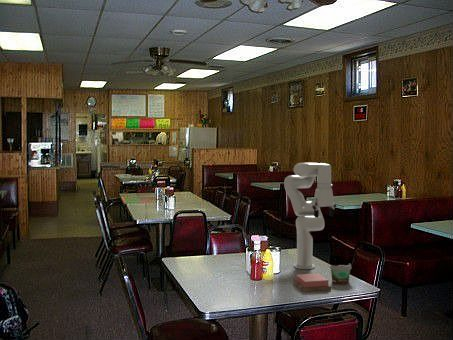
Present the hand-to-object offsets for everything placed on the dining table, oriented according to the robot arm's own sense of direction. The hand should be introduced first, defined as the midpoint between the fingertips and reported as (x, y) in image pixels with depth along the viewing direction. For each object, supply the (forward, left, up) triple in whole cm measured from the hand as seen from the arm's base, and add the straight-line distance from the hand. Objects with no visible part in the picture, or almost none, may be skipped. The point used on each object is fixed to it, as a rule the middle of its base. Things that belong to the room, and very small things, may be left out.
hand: (323, 216), depth 271 cm
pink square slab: (+13, -12, -33) cm, 37 cm away
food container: (+10, +7, -35) cm, 37 cm away
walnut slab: (+13, -12, -36) cm, 40 cm away
